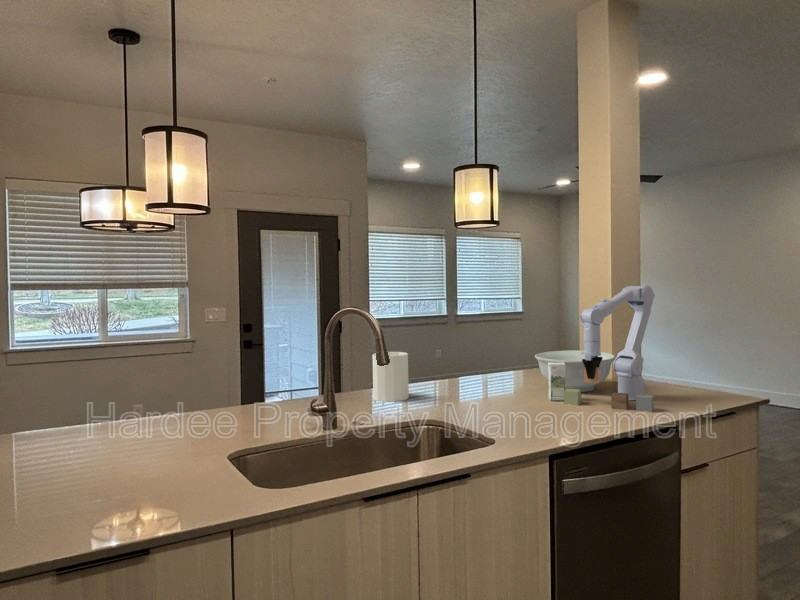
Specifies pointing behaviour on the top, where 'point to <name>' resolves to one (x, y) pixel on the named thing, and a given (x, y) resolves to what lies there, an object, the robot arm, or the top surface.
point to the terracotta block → (596, 378)
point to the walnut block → (620, 401)
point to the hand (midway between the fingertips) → (592, 377)
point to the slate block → (644, 403)
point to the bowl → (574, 367)
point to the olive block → (572, 396)
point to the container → (391, 378)
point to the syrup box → (556, 381)
